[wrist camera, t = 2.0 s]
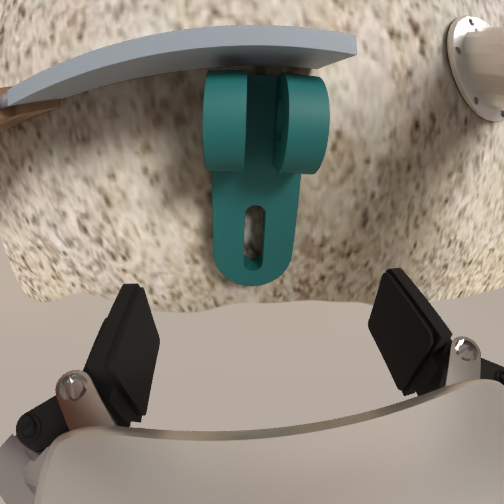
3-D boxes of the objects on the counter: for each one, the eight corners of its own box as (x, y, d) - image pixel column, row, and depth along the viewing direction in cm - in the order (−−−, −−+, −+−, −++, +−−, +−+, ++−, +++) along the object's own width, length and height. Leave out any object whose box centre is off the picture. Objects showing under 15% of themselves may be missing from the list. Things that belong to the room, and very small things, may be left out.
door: (316, 55, 17) (356, 35, 10) (317, 69, 18) (357, 54, 11) (56, 89, 16) (-3, 95, 9) (57, 101, 17) (-3, 111, 10)
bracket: (215, 77, 18) (203, 63, 11) (301, 81, 19) (333, 72, 12) (216, 271, 27) (211, 329, 21) (284, 272, 28) (298, 328, 21)
